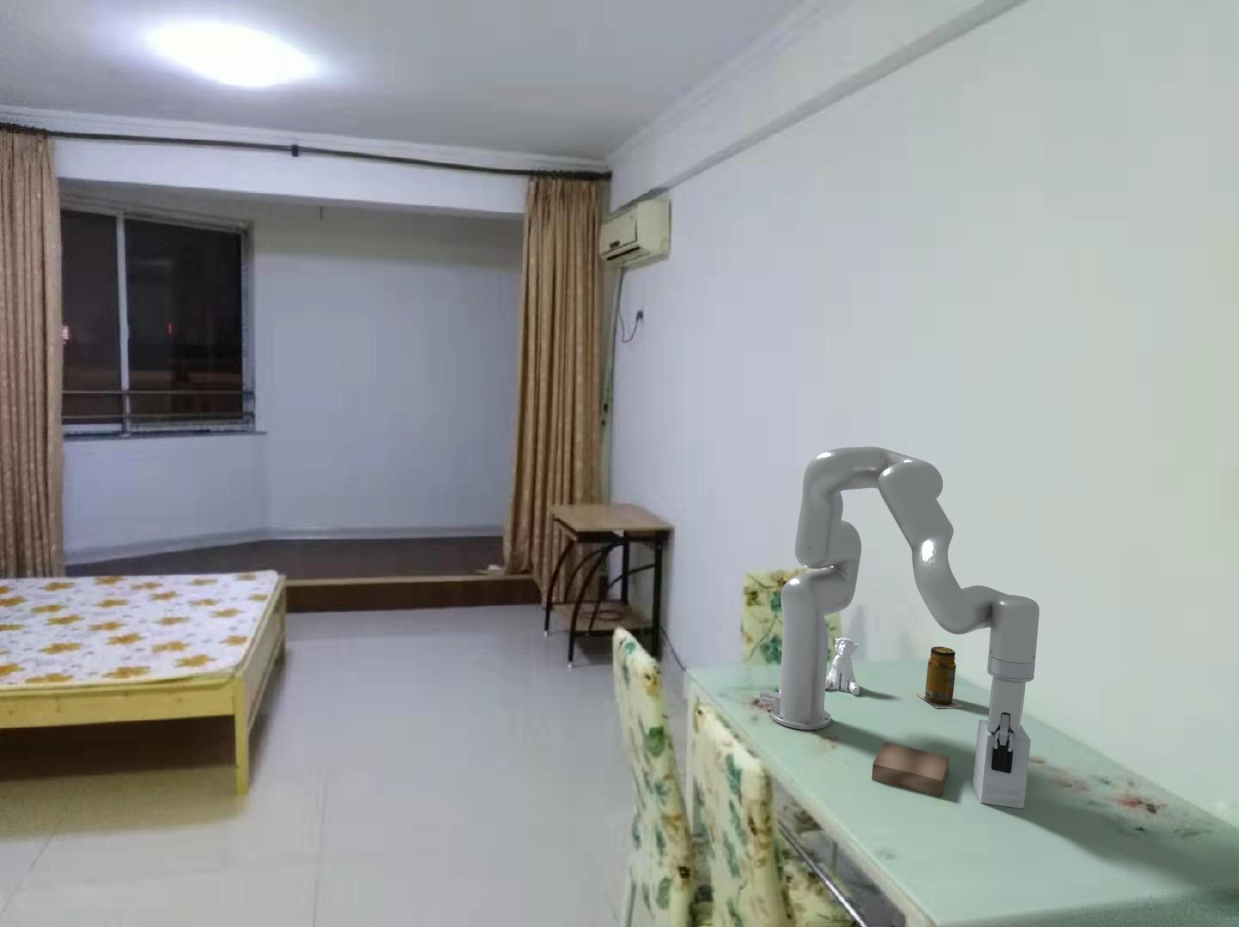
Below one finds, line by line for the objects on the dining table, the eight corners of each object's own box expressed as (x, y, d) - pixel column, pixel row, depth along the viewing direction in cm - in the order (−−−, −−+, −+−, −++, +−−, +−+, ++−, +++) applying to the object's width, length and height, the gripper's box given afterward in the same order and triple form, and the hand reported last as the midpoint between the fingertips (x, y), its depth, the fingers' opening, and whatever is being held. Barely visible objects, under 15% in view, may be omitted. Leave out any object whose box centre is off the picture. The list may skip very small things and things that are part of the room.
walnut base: (871, 779, 161) (872, 763, 161) (882, 756, 171) (884, 741, 171) (940, 796, 156) (941, 780, 156) (948, 771, 166) (949, 756, 165)
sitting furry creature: (817, 689, 206) (820, 640, 204) (822, 678, 214) (825, 630, 212) (858, 696, 202) (862, 646, 201) (862, 684, 210) (866, 635, 209)
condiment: (943, 693, 207) (948, 644, 205) (965, 707, 198) (970, 656, 197) (915, 695, 205) (920, 645, 204) (936, 709, 197) (940, 657, 195)
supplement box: (1025, 809, 152) (1032, 740, 151) (979, 803, 154) (986, 734, 152) (1014, 789, 160) (1021, 723, 158) (971, 784, 161) (978, 718, 160)
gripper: (991, 649, 163) (984, 738, 165) (983, 677, 148) (975, 774, 150) (1036, 657, 160) (1028, 747, 162) (1032, 685, 145) (1024, 785, 146)
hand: (1002, 760), depth 156 cm, fingers open, 9 cm apart
